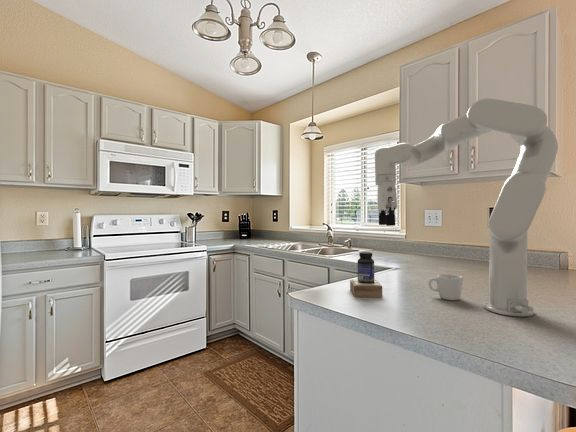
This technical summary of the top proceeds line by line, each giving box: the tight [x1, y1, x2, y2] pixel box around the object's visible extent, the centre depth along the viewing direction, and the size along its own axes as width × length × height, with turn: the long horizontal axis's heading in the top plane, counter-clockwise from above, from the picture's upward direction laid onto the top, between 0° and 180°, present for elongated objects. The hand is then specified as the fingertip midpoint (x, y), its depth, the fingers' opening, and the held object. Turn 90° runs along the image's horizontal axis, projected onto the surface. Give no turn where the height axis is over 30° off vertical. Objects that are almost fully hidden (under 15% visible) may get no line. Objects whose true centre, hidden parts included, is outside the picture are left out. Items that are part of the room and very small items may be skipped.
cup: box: [428, 273, 464, 301], centre depth 108 cm, size 11×8×8 cm
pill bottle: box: [357, 251, 375, 284], centre depth 115 cm, size 6×6×11 cm
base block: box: [349, 279, 383, 298], centre depth 115 cm, size 10×10×4 cm
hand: (386, 225), depth 116 cm, fingers open, 9 cm apart
